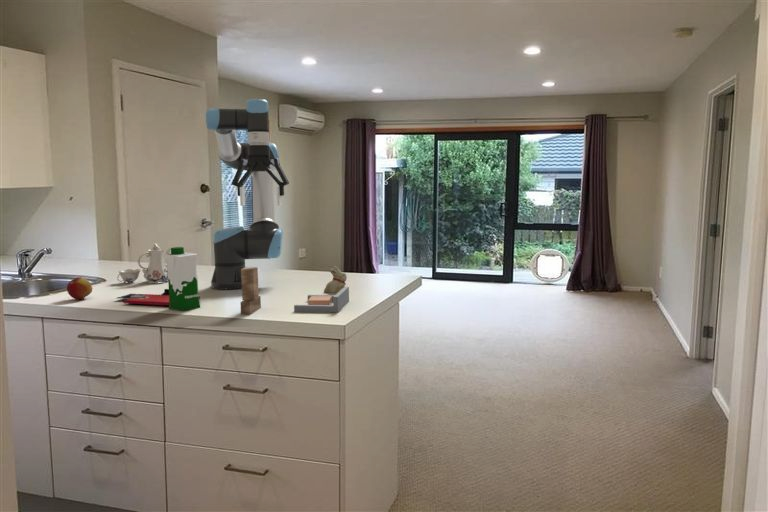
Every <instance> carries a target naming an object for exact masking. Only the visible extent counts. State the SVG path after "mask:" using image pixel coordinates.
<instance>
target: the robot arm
mask: <svg viewBox="0 0 768 512" xmlns="http://www.w3.org/2000/svg"><path fill="white" fill-rule="evenodd" d="M245 106H246V107H245V108H217V107H216V108H215V107H214V108H208V109H206V111H205V124H206V128H207V129H208V130H210V131H211V130H212V131H214V133H215V137H216V142H217V149H216V151H217V156H218V158H219V159H220V160H221V162H222V163H223V164H225V165H226V166H228V168H231V169H233V170H236V172H235V174H234V176H233V179H232V182H231V185H232V186H235V187H236V188H237V189H236V191H237V193H236V194H237V197H239V199H240V200H239V201H240V207H241V206H246V191H245V190H246V189H245V186H244V185H245V183H246V182H247V180H248V179H249V178H250V177H251V178H252V179H251V180H252V213H253V214H252V215H253V216H252V217H253V218H252V219H253V221H252V223H251V224H250V225H249V229H245V228H244V226H240V225H239V226H233V227H226V228H220V229H217V230H216V231H214V233H213V242H212V243H213V251H214V252H213V253H214V254H213V255H214V256H213V257H214V269H213V274H212V277H211V281H210V287H211V288H212V289H213V290H214V289H215V290H237V289H242V279H241V269H243V268H245V267H246V260H263V259H264V260H267V259H268V260H271V259H277V258H279V257H281V254H282V248H283V238H284V237H283V235H284V231H283V229H282V228H280V226H279V224H278V222H276V219H275V216H276V215H275V214H276V213H275V193H274V192H275V190H274V189H275V188H274V182H275V183H276V184H277V185H278V186H276V195H277V197H276V199H277V206H283V204H282V203H283V199H282V197H284V196H285V186H287V185H289V184H290V181H289V180H288V178H287V175H286V174H285V172H284V170H283V168H282V167H281V164H280V158H279V157H280V156H279V151H278V148H277V145H276V144H275V143H273V142H270V120H269V119H270V117H269V113H270V112H269V111H270V110H269V109H270V108H269V103H268V101H267V100H266V99H260V98H255V99H254V98H253V99H252V98H251V99H248V100H247V101H246V105H245ZM236 131H247V142H238V138H237V133H236ZM244 171H245V173H244V174H243V172H244ZM277 173H278V175H279V176H278V175H277ZM241 176H242V177H241Z"/></svg>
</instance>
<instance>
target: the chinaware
mask: <svg viewBox="0 0 768 512" xmlns="http://www.w3.org/2000/svg"><path fill="white" fill-rule="evenodd" d="M164 251H165V249H164V248H163V249H161V247H160V246H159V245H158V244H157V243H156V242H155V243H154V245H153V246H152V247H151V248H150V249H147V252H144V253H141V254H140V255H139V256H138V258H137V265H138V267H140V268H141V269H142V270H140V269H139V268H137V269H131V268H127V269H125V270H118V275H117V277H116V279H117V281H118V282H120V283H122V282H123V284H127V283H130V284H135V283H134V282H135V281H136V280H137V279H138V278H139V277H140V276H139V275H140V272H141V271H142V273H143V277H144V279H145V280H146V283H147V282H148V283H147V284H151V283H156V284H159V283H158V282H165V283H167V282H166V281H168V268H167V264H165V263H166V262H165V259H164ZM168 254H171V248H170V247H169V248H167V250H166V251H165V255H168ZM142 256H146V257H145V258H148V260H149V261H148V265H147V267H144V266H142V265H141V263H140V262H141V259H142ZM119 277H121V279H122V280H120V279H119Z"/></svg>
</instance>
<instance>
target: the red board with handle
mask: <svg viewBox="0 0 768 512" xmlns="http://www.w3.org/2000/svg"><path fill="white" fill-rule="evenodd" d="M117 299H123V304H129V305H130V304H131V305H133V304H136V305H151V306H152V305H154V306H169V288H164V291H163V293H161V294H149V293H129V294H125V295H122V296H118V297H117ZM199 300H201V296H200V295H199Z"/></svg>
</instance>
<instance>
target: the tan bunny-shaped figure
mask: <svg viewBox="0 0 768 512" xmlns="http://www.w3.org/2000/svg"><path fill="white" fill-rule="evenodd" d="M329 273H331V275H332V280H330V281H328V282H327V283H326V285H325V287H324V289H323V292H324V293H326V294H327V293H328V294H331V293H332V294H333V293H334V294H337V293H338V292H339V291H340V290H341V289H342V288H344V287H346V285H347V283H346V281H347V278H348V277H347V274H346V273H345V272H342V271H341V269H339V267H337V266H336V265H333V267H332V268H330V269H329Z"/></svg>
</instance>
